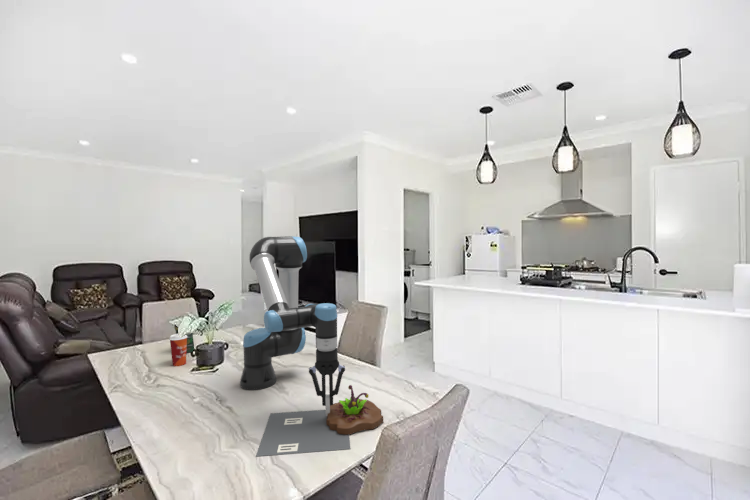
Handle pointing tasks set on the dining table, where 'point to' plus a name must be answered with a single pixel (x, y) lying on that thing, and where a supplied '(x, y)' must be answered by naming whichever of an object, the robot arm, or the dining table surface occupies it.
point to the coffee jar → (188, 341)
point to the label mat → (300, 434)
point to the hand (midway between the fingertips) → (327, 413)
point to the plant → (354, 415)
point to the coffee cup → (178, 349)
